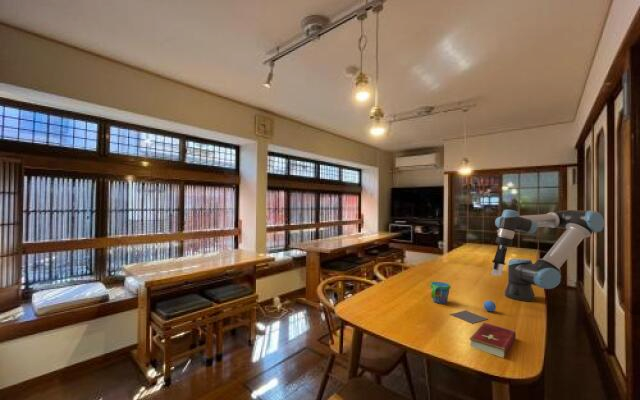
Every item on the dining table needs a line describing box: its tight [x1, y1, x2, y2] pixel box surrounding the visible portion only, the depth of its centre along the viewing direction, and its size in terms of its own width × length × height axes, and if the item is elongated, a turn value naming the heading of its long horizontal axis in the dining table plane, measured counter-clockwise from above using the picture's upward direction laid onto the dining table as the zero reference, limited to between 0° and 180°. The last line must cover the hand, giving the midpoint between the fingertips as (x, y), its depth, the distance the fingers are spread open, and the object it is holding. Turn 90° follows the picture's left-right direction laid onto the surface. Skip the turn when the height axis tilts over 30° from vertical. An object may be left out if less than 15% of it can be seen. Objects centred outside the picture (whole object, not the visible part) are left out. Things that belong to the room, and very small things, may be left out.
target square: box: [449, 310, 489, 325], centre depth 142 cm, size 12×12×1 cm
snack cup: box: [429, 281, 451, 305], centre depth 163 cm, size 16×10×10 cm
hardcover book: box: [469, 322, 517, 359], centre depth 116 cm, size 12×21×4 cm, turn 137°
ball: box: [483, 300, 497, 312], centre depth 149 cm, size 6×6×6 cm
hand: (496, 275), depth 156 cm, fingers open, 13 cm apart
